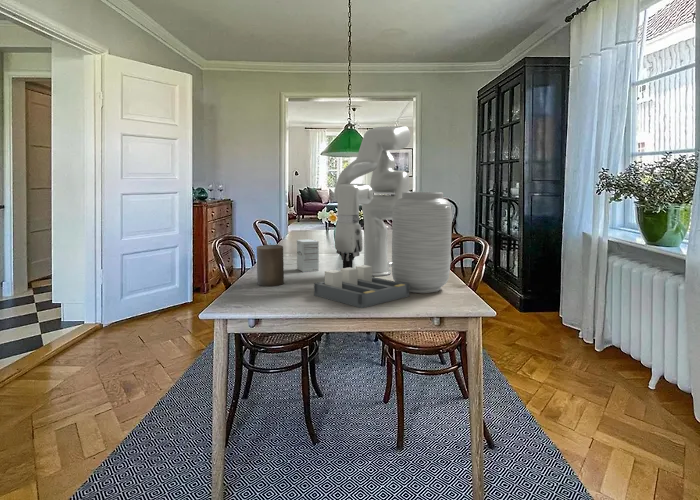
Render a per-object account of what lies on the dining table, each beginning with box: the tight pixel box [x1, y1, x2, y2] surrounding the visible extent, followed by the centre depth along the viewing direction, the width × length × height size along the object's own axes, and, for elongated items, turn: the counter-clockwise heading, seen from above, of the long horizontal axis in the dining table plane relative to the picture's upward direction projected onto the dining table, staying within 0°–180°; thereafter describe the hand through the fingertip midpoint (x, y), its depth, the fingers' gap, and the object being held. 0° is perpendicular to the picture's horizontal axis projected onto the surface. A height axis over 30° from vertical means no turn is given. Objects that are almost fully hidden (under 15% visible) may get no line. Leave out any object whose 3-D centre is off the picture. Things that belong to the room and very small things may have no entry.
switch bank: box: [313, 276, 410, 309], centre depth 159 cm, size 22×22×4 cm
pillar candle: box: [255, 242, 285, 287], centre depth 176 cm, size 10×10×15 cm
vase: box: [391, 191, 453, 294], centre depth 168 cm, size 20×20×34 cm
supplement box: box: [296, 238, 320, 273], centre depth 203 cm, size 7×7×13 cm
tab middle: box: [340, 267, 358, 285], centre depth 163 cm, size 4×4×7 cm
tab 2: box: [355, 264, 373, 282], centre depth 167 cm, size 4×4×7 cm
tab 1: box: [324, 269, 342, 288], centre depth 158 cm, size 4×4×7 cm
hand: (347, 271), depth 173 cm, fingers closed
